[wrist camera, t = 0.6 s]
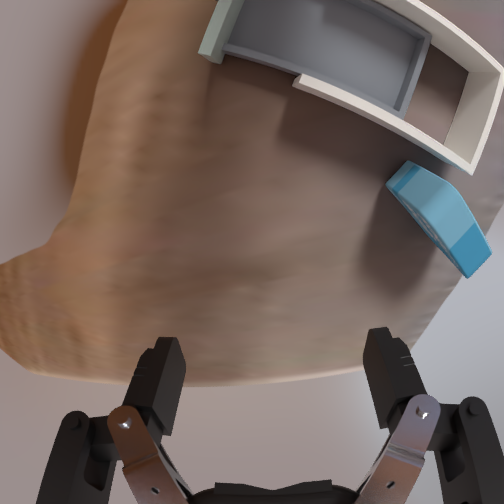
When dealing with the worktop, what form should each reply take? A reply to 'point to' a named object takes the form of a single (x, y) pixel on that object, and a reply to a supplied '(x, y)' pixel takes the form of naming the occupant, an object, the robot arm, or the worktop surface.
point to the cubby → (471, 102)
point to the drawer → (325, 44)
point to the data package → (441, 216)
